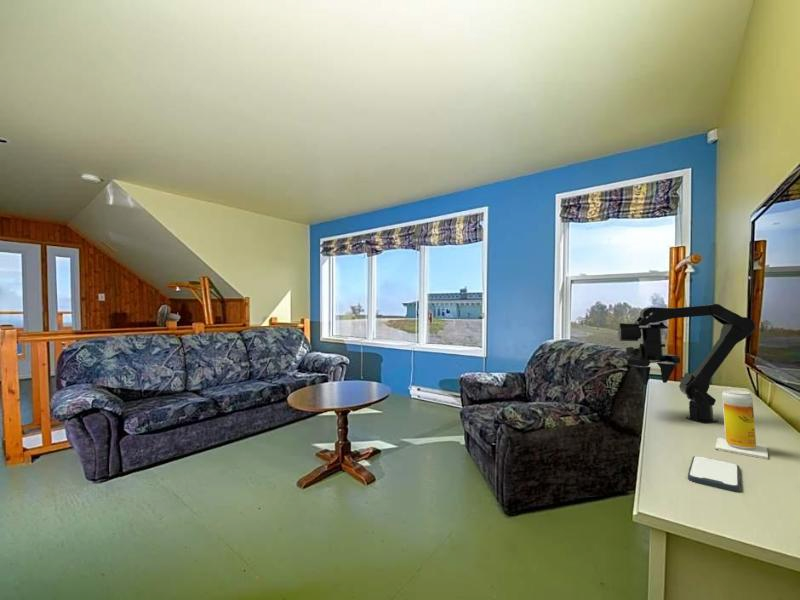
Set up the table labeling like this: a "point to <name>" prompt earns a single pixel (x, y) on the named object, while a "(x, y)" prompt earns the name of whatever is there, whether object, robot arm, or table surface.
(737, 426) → the beer can
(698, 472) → the phone case
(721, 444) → the mat
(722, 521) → the table surface
